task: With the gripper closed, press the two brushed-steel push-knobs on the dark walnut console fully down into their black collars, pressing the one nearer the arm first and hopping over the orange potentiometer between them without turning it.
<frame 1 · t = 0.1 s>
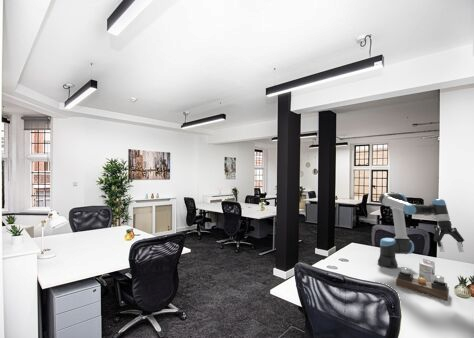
hand: (452, 251, 168), 28 cm above the table, tool tilted 20°, fingers open, 13 cm apart
console: (421, 290, 170), on the table
ink box: (426, 279, 187), on the table
knob 2: (439, 279, 163), point 10 cm above the table, slide at 0.0 cm
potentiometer: (421, 280, 170), point 7 cm above the table, hinge at 0.0°
knob 1: (405, 271, 176), point 10 cm above the table, slide at 0.0 cm
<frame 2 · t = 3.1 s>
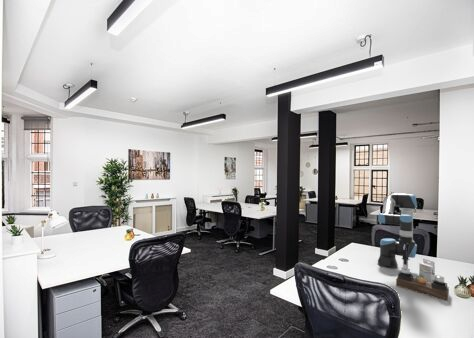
hand: (405, 268, 176), 12 cm above the table, tool pointing down, fingers closed
knob 1: (405, 271, 176), point 10 cm above the table, slide at 0.2 cm, touching gripper
everything else where it was.
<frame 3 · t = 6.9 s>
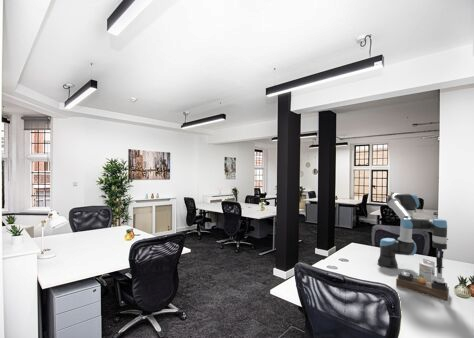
hand: (439, 277, 163), 12 cm above the table, tool pointing down, fingers closed
knob 2: (439, 280, 163), point 10 cm above the table, slide at 0.7 cm, touching gripper
knob 1: (405, 275, 176), point 7 cm above the table, slide at 3.1 cm
everything else where it was.
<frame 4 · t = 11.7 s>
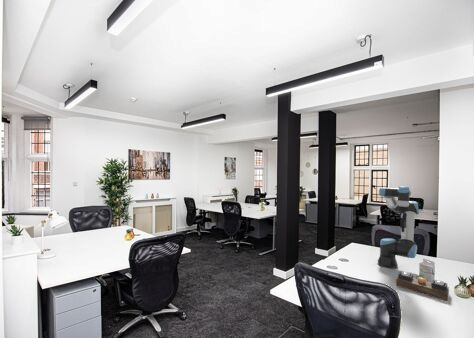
hand: (403, 235, 191), 32 cm above the table, tool pointing down, fingers closed
knob 2: (439, 284, 163), point 7 cm above the table, slide at 3.1 cm
everything else where it was.
at the end: knob 1 slide at 3.1 cm; knob 2 slide at 3.1 cm; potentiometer at +0° (first picture: +0°) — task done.
